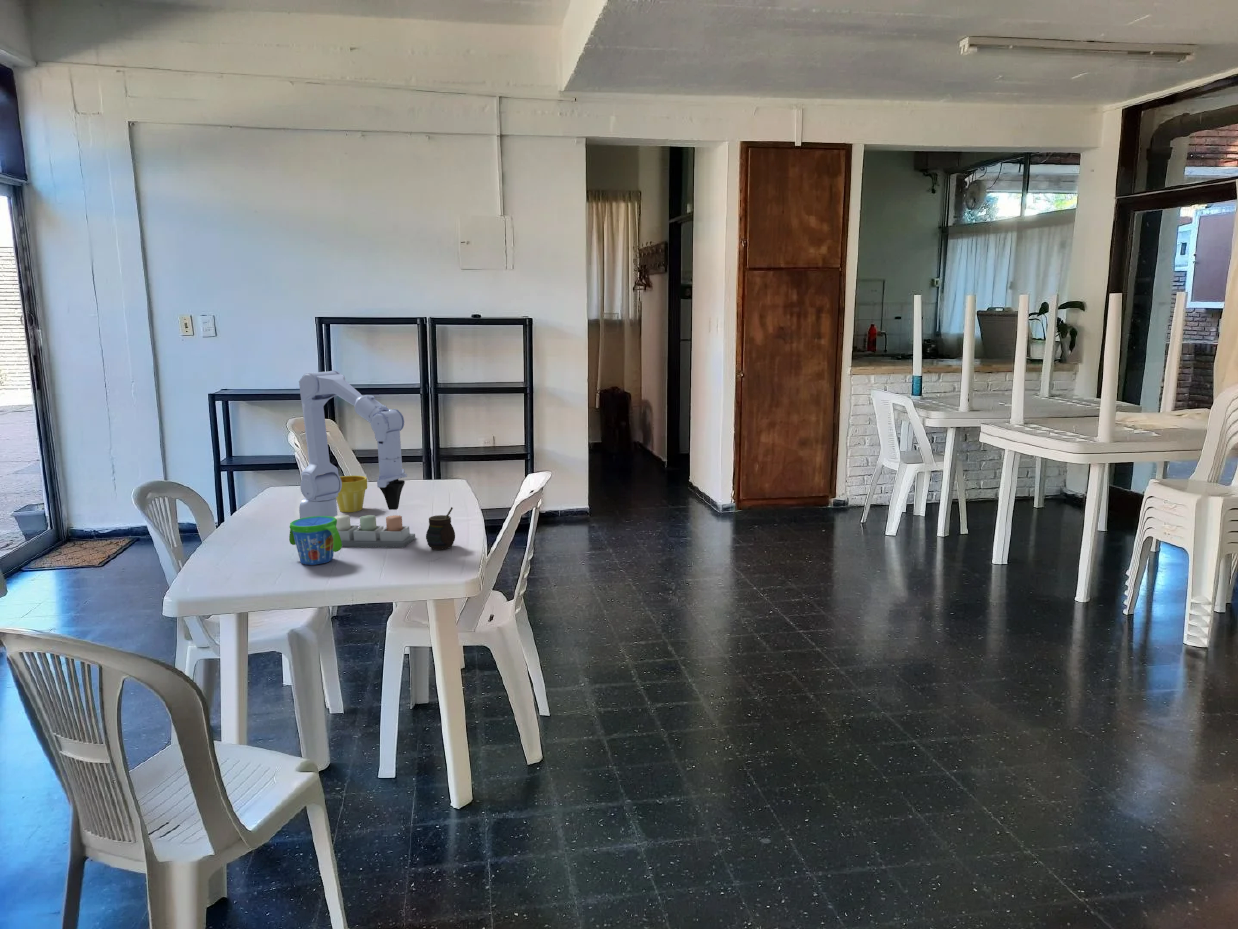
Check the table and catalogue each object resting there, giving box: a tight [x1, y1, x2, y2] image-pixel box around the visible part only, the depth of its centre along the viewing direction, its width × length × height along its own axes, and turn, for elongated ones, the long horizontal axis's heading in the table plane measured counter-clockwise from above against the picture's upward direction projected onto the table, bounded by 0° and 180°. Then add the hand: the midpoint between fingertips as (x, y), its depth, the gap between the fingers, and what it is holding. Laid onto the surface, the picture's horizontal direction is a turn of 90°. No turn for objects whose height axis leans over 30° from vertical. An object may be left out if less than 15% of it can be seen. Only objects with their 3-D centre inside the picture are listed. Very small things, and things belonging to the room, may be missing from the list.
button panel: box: [338, 525, 416, 549], centre depth 218 cm, size 22×9×4 cm, turn 85°
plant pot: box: [336, 475, 368, 513], centre depth 253 cm, size 10×10×10 cm
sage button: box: [359, 514, 377, 531], centre depth 217 cm, size 4×4×4 cm
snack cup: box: [288, 516, 343, 566], centre depth 201 cm, size 16×10×10 cm
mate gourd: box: [425, 506, 456, 551], centre depth 211 cm, size 7×8×10 cm
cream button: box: [334, 514, 352, 531], centre depth 218 cm, size 4×4×4 cm
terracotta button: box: [385, 514, 403, 531], centre depth 216 cm, size 4×4×4 cm
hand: (393, 509), depth 216 cm, fingers closed
